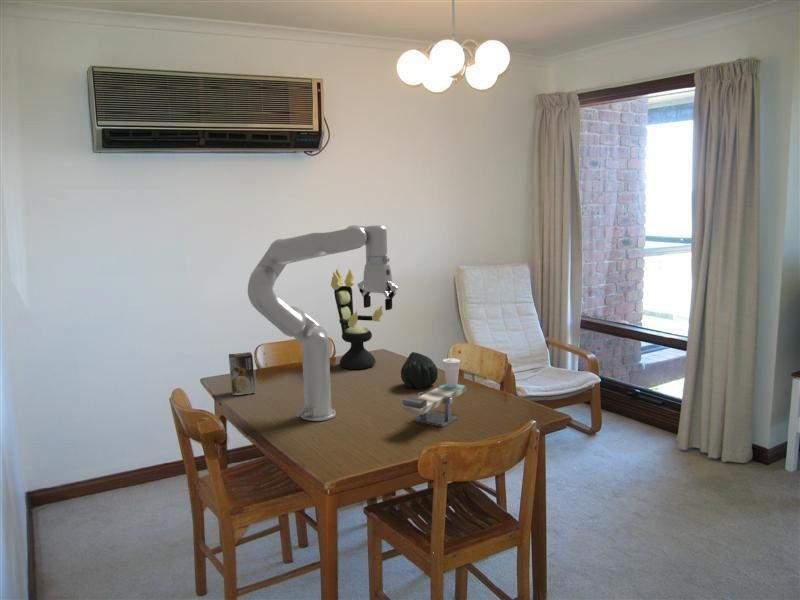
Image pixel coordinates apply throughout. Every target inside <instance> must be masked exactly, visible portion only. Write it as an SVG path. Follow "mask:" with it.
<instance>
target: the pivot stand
mask: <svg viewBox="0 0 800 600" xmlns="http://www.w3.org/2000/svg"><path fill="white" fill-rule="evenodd" d="M425 393H427V392H425V391H421V392H418V393H417V397H419V396H421V395H423V394H425ZM453 403H454V398H453V399H452V398H451V397H446V398H445V403H444V413H443V412H439V411H435V410H430V411H428V412H426V413H424V414H423V415H419V414H418V415H417V416H415V417H413V418H412V419H413V420H412V421H413V422H416V423H420V422H421V424H425V423H426V424H425V425H429V424H430V426H434V425H435V426H434V427H438V426H439V428H444V427H446V426H448V425H449V424H452V423H453V422H455V421H457V420H458V415H452V404H453Z"/></svg>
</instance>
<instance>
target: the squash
mask: <svg viewBox="0 0 800 600" xmlns="http://www.w3.org/2000/svg"><path fill="white" fill-rule="evenodd" d="M400 378H401V380H402V382H403V383H404V384H405V386H408V387H409V388H411V389H417V390H420V389H423V387H425V388H427V387H429V386H432V385H434V384H435V383H436V381H437V380H438V367H437V365H436V364H435V362H434V361H433V359H431V358H430V357H428V356H426V355H424V354H421V353H418V352H414V351H411V353H409V355H408V357H407V359H406V360H405V362H404V363H403V365H402V366H401V369H400Z"/></svg>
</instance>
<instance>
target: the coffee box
mask: <svg viewBox="0 0 800 600" xmlns="http://www.w3.org/2000/svg"><path fill="white" fill-rule="evenodd" d="M253 358H254V357H253V354H252V352H250V351H249V352H242V353H241V352H238V353H229V354H228V363H229V365H228V366H229V376H230V377H229V379H230V390H232V392H231V395H232V394H235V393H250V392H255V393H256V384H255V372H254V371H255V370H254V359H253Z"/></svg>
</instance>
